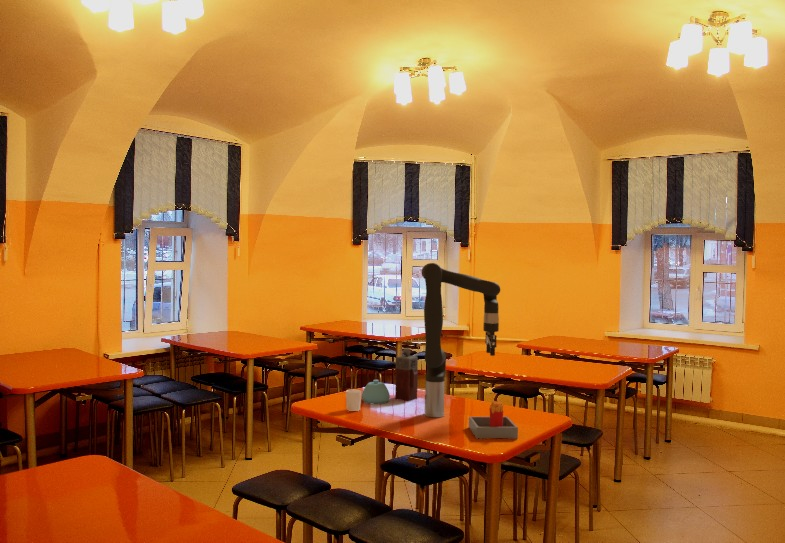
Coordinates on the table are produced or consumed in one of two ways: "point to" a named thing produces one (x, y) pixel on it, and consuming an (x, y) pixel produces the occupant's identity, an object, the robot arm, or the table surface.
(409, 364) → the brown coffee grinder
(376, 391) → the sugar bowl
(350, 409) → the white cup
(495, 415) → the french fries
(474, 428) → the bin
